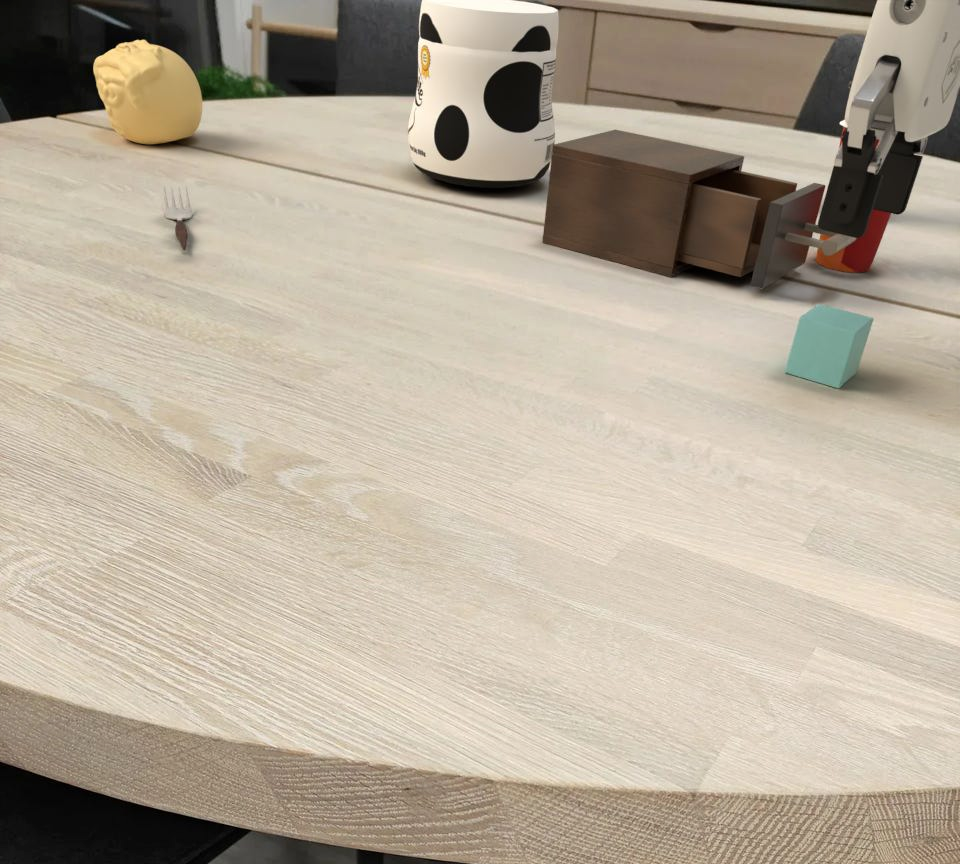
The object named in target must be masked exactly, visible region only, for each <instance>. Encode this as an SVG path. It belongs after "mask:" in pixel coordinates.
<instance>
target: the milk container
mask: <svg viewBox="0 0 960 864" xmlns="http://www.w3.org/2000/svg"><path fill="white" fill-rule="evenodd" d="M420 3H421V4H420V10H419V11H420V12H419V20H418V31H419V32H418V33H419V38H418V43H417V83H416V90H415V96H414V99H413V102H412V107H411V111H410V115H409V119H408V127H407V140H408V141H407V142H408V149H409V156H410V159H411V161H412V164H413V165H414V167H415V168H416V169H417V170H418V171H420V172H421V173H423V174H425V175H426V176H428V177H431V178H432V179H435V180H438V181H441V182H445V183H447V184H451V185H459V186H463V187H471V188H480V189H508V188H517V187H523V186H526V185H530V184H533V183H536V182H539V180H541V179H542V178H543V177H544V176H545V175H546V174H547V172H548V170H549V168H550V167H551V159H552V154H553V153H552V149H553V145H554V144H556V128H555V118H554V112H553V86H554V77H555V70H556V69H555V68H556V61H557V46H558V41H559V33H560V32H559V29H560V28H559V27H560V26H559V25H560V24H559V23H560V22H559V21H560V16H559V10H558V8H555V7H552V6H549V5H545V4H539V3H534V2H529V1H523V0H421V2H420Z"/></svg>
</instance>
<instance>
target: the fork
mask: <svg viewBox="0 0 960 864" xmlns="http://www.w3.org/2000/svg"><path fill="white" fill-rule="evenodd" d="M170 190H171V192H170V193H171V194H170V195H171V208H170V206H169V203H168V198H167V192H166V187H165V186H163V200H164V201H163V202H164V217H165V218H166V219H168V220H174V221H175V220H176V223H175V228H174V232H175V233H174V234H175V236H176V238H177V240H178V242H179V244H180V246H181V248H182V251H187V243H188V237H189V232H188V228H187V226H186V224H185V223H184V220H190V219H192V218H193V212H192V208H191V203H190V198H189V192H188V187H187V186H185V203H186V208H184V205H183V200H182V194H181V189H180V188H178V208H177V205H176V200H175V196H174V191H173V187H172V186H171V188H170Z"/></svg>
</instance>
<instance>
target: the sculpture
mask: <svg viewBox="0 0 960 864" xmlns="http://www.w3.org/2000/svg"><path fill="white" fill-rule="evenodd" d="M92 67H93V69H92V70H93V76H94V78H95V82H96V83H95V84H96V89H97V91H98V96H99V98H100V99H101V101H102V102H103V105H104V108H105V112H106V115H108V121H109V124H110V126H111V128H112V129H114V130H115V131H116V132H117V133H118V134H119V135H121V136H122V137H123V138H125V139H126V140H128V141H131V142H134V143H137V144H143V145H159V144H165V143H171V142H174V141H179V140H183V139H187V138H189V137H192V136H193V135H194V134H195V133H196V132H197V131H198V128H199V126H200V124H201V120H202V117H203V95H202V90H201V87H200V84H199V81H198V79H197V76H196V75H195V73H194V71H193V70H192V68H191V66H190V65H189V64H188V63H187V62H186V60H185V59H184V58H182V57H181V56H180V55H179V54H177V53H176V52H174V51H173V50H171V49H169V48H167V47H165V46H161V45H158V44H152V43H149V42H148V41H147V39H141V40H140V39H136V40H133V41H130V42H126V41H125V42H121V43H118V44H117V45H116V46H115V48H112V49H110V50H108V51H107V52H105V53H104V54H102V55H99V56H97V57H96V58H95V59H94V62H93V66H92Z"/></svg>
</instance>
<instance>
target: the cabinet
mask: <svg viewBox="0 0 960 864" xmlns="http://www.w3.org/2000/svg"><path fill="white" fill-rule="evenodd" d="M552 153H553V154H552V159H551V162H550V167H549V168H550V169H549V178H548V188H547V195H546V205H545V215H544V224H543V232H542V233H543V234H542V241H541V242H542V243H544V244H547V245H551V246H555V247H559V248H561V249H565V250H570V251H573V252H577V253H580V254H584V255H588V256H592V257H595V258H599V259H603V260H607V261H610V262H614V263H617V264H621V265H625V266H629V267H633V268H636V269H639V270H640V269H641V270H643V271H647V272H651V273H655V274H658V275H663V276H666V277H670V278H673V277H674V276H676V275H679V274H680V273H682V272H685V271H686V270H688V269H690V268H692V267H695V265H692V264H688V263H684V262H680V261H677V260H678V254H679V249H680V244H681V239H682V233H683V228H684V223H685V218H686V212H687V207H688V202H689V197H690V191H691V186H692V183H693V182H696V181H698V180H701V179H704V178H707V177H710V176H712V175H715V174H718V173H721V172H724V171H726V170H729V169H734V170H738V171H742V169H743V165H744V161H745V156H744V155H741V154H737V153H736V154H735V153H731V152H725V151H721V150H716V149H712V148H706V147H701V146H697V145H692V144H689V143H682V142H677V141H673V140H668V139H663V138H660V137H659V138H658V137H654V136H648V135H644V134H639V133H635V132H629V131H624V130H619V129H612V130H608V131H604V132H600V133H599V132H598V133H595V134H591V135H588V136H583V137H579V138H575V139H571V140H566V141H562V142H558V143H554V145H553V149H552Z"/></svg>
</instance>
